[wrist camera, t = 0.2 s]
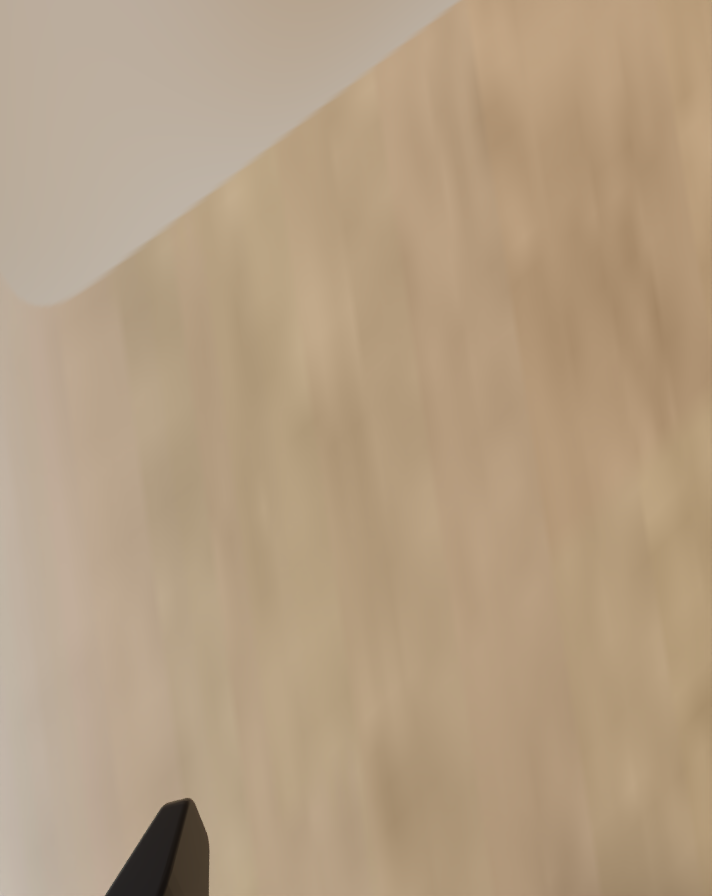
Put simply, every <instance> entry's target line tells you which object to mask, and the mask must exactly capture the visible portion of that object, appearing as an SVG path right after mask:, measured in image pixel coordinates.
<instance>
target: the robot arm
mask: <svg viewBox="0 0 712 896" xmlns="http://www.w3.org/2000/svg"><path fill="white" fill-rule="evenodd" d="M105 896H209V841H208V836H207V832H206V830H205V827H204V825H203V822H202V820H201V818H200V815H199V813H198V810H197V808H196V805H195V803H194V801H193V800H192V799H190V798H185V799H181V800H177V801H173V802H169V803H166V804H165V805H164V806H163V807H162V808H161V809H160V811H159V812H158V814H157V815H156V817H155V818H154V820H153V821H152V823H151V825H150V826H149V828H148V829H147V831H146V832H145V834H144V835H143V837H142V839H141V840H140V842H139V843H138V845H137V846H136V848H135V849H134V851H133V853H132V854H131V856H130V857H129V859H128V860H127V862H126V864H125V865H124V867H123V868H122V870H121V871H120V873H119V874H118V876H117V878H116V879H115V881H114V882H113V884H112V885H111V887H110V888H109V890H108V892H107V893H106V895H105Z"/></svg>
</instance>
